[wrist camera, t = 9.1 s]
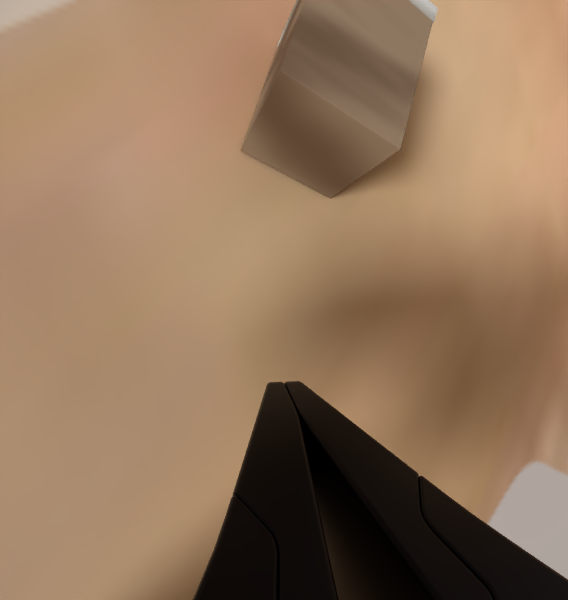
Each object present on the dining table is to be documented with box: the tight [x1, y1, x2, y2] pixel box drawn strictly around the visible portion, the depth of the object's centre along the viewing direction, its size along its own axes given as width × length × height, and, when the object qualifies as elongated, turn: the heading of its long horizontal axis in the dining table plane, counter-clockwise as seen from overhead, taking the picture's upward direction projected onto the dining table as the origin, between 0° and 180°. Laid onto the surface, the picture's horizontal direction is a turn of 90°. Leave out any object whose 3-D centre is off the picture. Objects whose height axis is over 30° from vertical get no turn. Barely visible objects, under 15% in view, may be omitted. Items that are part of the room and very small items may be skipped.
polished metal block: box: [241, 0, 438, 198], centre depth 16 cm, size 6×6×8 cm
